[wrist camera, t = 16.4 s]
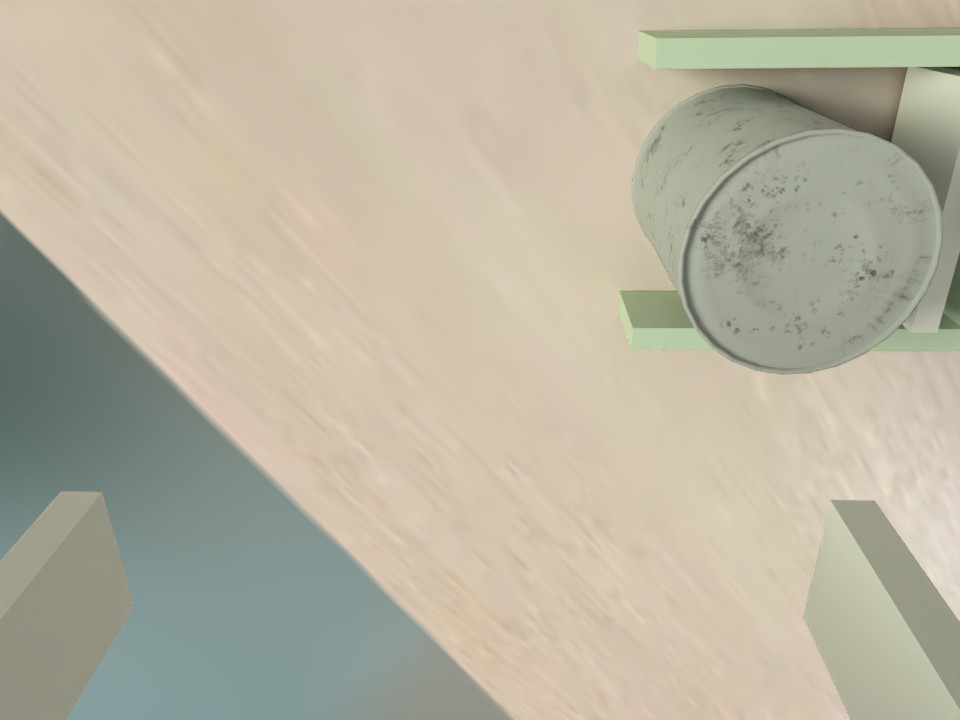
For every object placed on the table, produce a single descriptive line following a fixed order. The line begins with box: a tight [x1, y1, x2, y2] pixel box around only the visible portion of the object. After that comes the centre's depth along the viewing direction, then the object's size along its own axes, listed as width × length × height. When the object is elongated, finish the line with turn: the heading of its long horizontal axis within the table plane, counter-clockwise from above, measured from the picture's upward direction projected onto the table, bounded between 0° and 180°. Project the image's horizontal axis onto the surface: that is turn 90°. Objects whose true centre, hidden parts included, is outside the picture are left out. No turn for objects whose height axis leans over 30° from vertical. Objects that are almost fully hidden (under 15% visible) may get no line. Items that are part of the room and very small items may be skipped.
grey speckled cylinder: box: [632, 84, 943, 374], centre depth 34 cm, size 10×10×12 cm
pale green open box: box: [618, 28, 960, 351], centre depth 37 cm, size 17×14×5 cm
